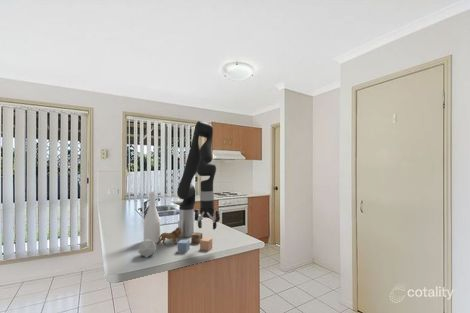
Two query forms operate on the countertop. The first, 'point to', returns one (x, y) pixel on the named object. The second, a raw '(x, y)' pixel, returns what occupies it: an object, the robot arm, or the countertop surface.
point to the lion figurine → (170, 236)
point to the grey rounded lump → (147, 247)
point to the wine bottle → (152, 221)
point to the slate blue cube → (183, 245)
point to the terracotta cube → (206, 244)
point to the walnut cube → (196, 238)
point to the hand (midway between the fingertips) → (207, 228)
